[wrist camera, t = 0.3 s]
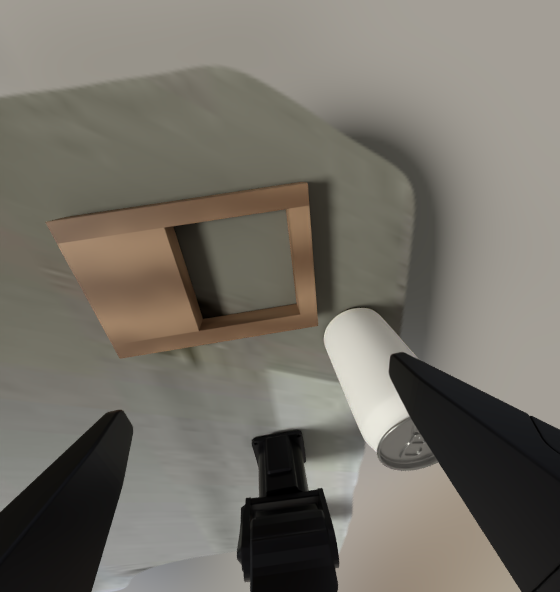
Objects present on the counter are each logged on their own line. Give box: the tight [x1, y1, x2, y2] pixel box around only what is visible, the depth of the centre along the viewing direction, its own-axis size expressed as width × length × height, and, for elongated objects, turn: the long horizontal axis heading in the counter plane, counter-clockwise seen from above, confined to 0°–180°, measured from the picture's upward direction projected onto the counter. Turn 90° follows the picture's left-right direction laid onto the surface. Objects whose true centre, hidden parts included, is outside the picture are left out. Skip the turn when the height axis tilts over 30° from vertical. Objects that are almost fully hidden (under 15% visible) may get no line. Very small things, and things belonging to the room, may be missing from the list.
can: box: [324, 308, 438, 471], centre depth 21 cm, size 6×6×12 cm
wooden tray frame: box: [46, 182, 318, 358], centre depth 21 cm, size 12×18×2 cm, turn 97°
